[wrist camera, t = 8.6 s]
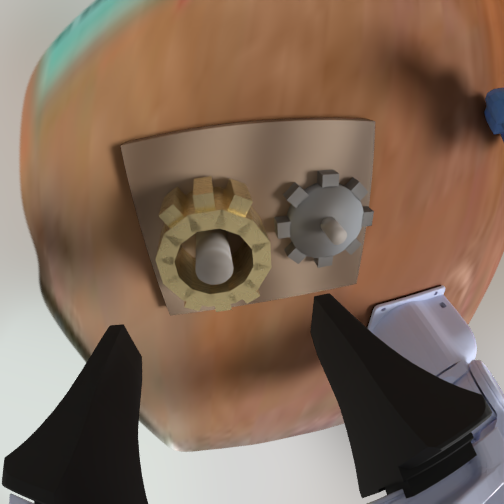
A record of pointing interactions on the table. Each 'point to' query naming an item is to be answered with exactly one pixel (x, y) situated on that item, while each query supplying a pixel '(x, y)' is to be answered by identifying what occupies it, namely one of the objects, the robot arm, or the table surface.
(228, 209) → the gear
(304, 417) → the table surface
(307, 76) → the table surface
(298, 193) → the gear board
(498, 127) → the grapes
